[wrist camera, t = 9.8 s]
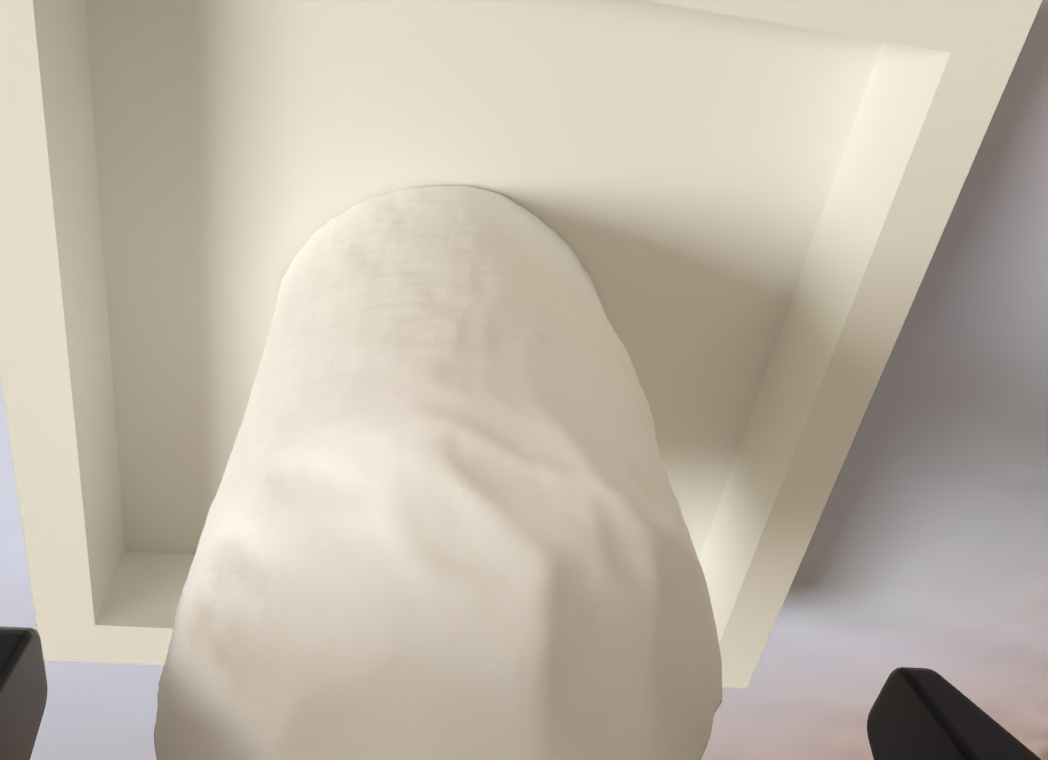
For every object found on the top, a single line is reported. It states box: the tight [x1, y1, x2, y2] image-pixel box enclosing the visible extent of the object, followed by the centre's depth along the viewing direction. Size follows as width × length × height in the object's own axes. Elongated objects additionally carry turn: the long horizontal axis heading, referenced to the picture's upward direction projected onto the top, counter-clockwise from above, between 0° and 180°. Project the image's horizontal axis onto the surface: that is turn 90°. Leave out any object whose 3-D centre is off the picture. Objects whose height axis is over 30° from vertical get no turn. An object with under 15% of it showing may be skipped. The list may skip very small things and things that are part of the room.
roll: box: [154, 185, 722, 760], centre depth 11 cm, size 6×12×6 cm
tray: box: [0, 0, 1042, 688], centre depth 16 cm, size 14×14×3 cm
